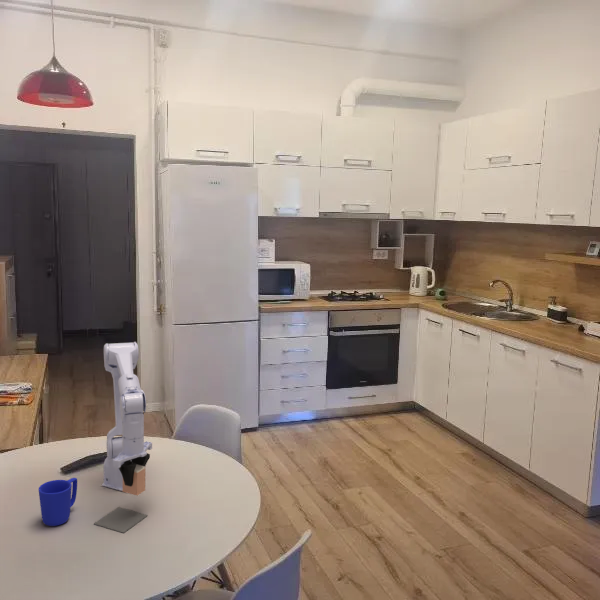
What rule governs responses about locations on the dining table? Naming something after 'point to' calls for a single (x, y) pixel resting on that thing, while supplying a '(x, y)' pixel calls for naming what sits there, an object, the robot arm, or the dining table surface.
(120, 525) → the mat
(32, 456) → the dining table surface
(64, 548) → the dining table surface
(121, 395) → the robot arm
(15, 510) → the dining table surface
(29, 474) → the dining table surface
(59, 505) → the mug
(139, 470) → the block
